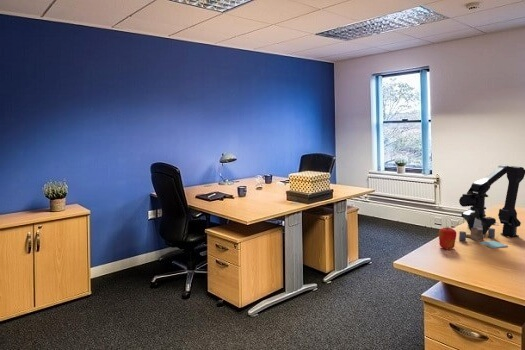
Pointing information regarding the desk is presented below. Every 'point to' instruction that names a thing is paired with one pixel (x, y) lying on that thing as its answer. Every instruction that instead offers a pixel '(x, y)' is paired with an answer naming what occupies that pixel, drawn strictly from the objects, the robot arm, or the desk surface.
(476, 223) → the supplement box
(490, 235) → the cylinder
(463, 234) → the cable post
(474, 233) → the walnut block
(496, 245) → the pale teal mat
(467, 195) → the robot arm
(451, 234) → the apple
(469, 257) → the desk surface
